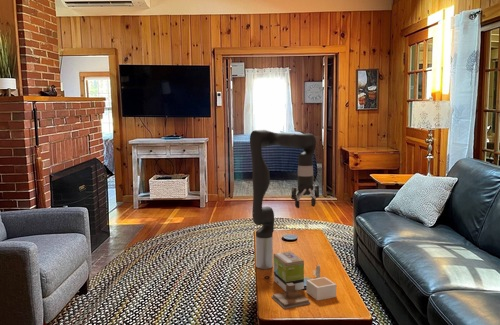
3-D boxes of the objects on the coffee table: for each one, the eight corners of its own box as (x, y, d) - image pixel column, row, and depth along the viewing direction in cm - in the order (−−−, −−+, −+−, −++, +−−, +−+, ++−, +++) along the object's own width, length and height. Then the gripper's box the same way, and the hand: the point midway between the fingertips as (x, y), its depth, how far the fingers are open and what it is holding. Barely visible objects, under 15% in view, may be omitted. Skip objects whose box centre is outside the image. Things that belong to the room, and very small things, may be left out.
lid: (272, 296, 203) (272, 281, 202) (296, 292, 207) (296, 277, 207) (284, 306, 192) (284, 291, 191) (308, 302, 196) (308, 287, 196)
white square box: (306, 292, 208) (306, 280, 208) (324, 288, 212) (324, 276, 211) (317, 300, 199) (317, 287, 198) (336, 296, 203) (336, 284, 202)
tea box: (273, 281, 222) (272, 253, 221) (291, 278, 226) (290, 250, 224) (285, 292, 208) (285, 262, 207) (304, 289, 212) (304, 259, 210)
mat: (271, 297, 203) (271, 296, 203) (296, 292, 208) (296, 291, 208) (284, 308, 191) (284, 307, 191) (310, 303, 196) (310, 302, 196)
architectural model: (313, 282, 222) (313, 267, 221) (312, 276, 229) (313, 263, 228) (320, 282, 222) (320, 267, 221) (319, 277, 228) (319, 263, 228)
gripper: (314, 172, 221) (314, 204, 223) (288, 174, 216) (288, 207, 218) (322, 174, 215) (321, 207, 216) (296, 176, 209) (296, 210, 211)
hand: (305, 207), depth 217 cm, fingers open, 8 cm apart
